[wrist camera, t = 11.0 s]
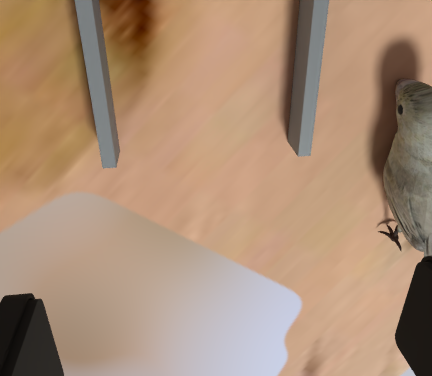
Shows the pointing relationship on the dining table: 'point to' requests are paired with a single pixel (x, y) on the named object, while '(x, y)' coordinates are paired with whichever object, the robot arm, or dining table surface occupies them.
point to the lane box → (301, 89)
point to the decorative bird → (411, 166)
